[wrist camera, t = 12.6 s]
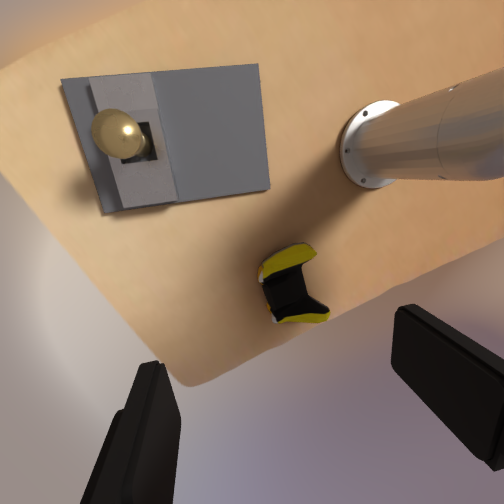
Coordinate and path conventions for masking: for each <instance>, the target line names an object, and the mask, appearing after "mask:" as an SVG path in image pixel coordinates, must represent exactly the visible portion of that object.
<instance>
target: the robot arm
mask: <svg viewBox="0 0 504 504" xmlns="http://www.w3.org/2000/svg"><path fill="white" fill-rule="evenodd" d="M345 150H346V152H345ZM340 159H341V164H342V167H343V170H344V172H345V173H346V175H347V176H348V178H349V179H350V180H351V181H352V182H354V183H355V184H356V185H359V186H361V187H365V188H381V187H384V186H387V185H389V184H391V183H392V182H394V181H395V180H397V179H415V180H454V181H487V180H494V179H498V178H502V177H504V67H502V68H500V69H497V70H494V71H492V72H489V73H486V74H483V75H481V76H478V77H475V78H472V79H470V80H467V81H464V82H461V83H459V84H456V85H453V86H450V87H448V88H445V89H442V90H439V91H437V92H434V93H431V94H428V95H426V96H423V97H420V98H417V99H415V100H412V101H409V102H406V103H403V104H399V103H397V102H394V101H391V100H381V101H376V102H373V103H371V104H369V105H367V106H365V107H363V108H362V109H360V110H359V111H358V112H357V113H356V114H355V115H354V116H353V117H352V118H351V120H350V121H349V122H348V124H347V126H346V128H345V130H344V133H343V135H342V139H341V144H340ZM391 365H392V367H393V369H394V371H395V372H396V373H397V374H398V375H399V376H400V377H401V378H402V380H403V381H404V382H405V383H406V384H407V385H408V386H409V387H410V388H411V389H412V390H413V391H414V392H415V393H416V394H417V395H418V396H419V397H420V399H421V400H422V401H423V402H424V403H425V404H426V405H427V406H428V407H429V408H430V409H431V410H432V411H433V412H434V413H435V414H436V416H438V418H439V419H440V420H441V421H442V422H443V423H444V424H445V425H446V426H447V427H448V428H449V429H450V430H451V431H452V432H453V433H454V435H455V436H456V437H457V438H458V439H459V440H460V441H461V442H462V443H463V444H464V445H465V446H466V447H467V448H468V449H469V451H470V452H471V453H472V454H473V455H474V456H475V457H477V458H478V459H480V460H482V461H484V462H485V463H486V464H487V465H488V466H489V467H490V468H491V469H492V470H493V471H497V470H501V469H504V359H502V358H501V357H499V356H497V355H496V354H494V353H493V352H491V351H489V350H487V349H486V348H485V347H483V346H481V345H480V344H478V343H477V342H475V341H473V340H472V339H470V338H469V337H467V336H466V335H464V334H462V333H461V332H459V331H457V330H456V329H454V328H453V327H451V326H450V325H448V324H446V323H445V322H443V321H442V320H440V319H438V318H437V317H435V316H434V315H432V314H430V313H429V312H427V311H426V310H424V309H423V308H421V307H419V306H418V305H416V304H409V305H405V306H401V307H399V308H398V309H397V311H396V312H395V318H394V331H393V342H392V354H391ZM180 431H181V416H180V412H179V409H178V406H177V403H176V400H175V396H174V393H173V390H172V386H171V383H170V380H169V377H168V374H167V370H166V367H165V364H164V363H161V364H160V363H159V361H158V360H156V361H152V362H147V363H142V364H141V365H140V366H139V368H138V371H137V374H136V377H135V380H134V383H133V386H132V388H131V391H130V393H129V396H128V399H127V402H126V404H125V407H124V409H122V410H119V411H117V413H116V414H115V416H114V418H113V420H112V423H111V425H110V428H109V431H108V433H107V436H106V438H105V441H104V443H103V446H102V448H101V451H100V453H99V456H98V459H97V461H96V464H95V466H94V469H93V471H92V474H91V476H90V479H89V482H88V484H87V487H86V489H85V492H84V495H83V497H82V499H81V502H80V504H173V495H174V485H175V477H176V468H177V459H178V449H179V439H180Z"/></svg>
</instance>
